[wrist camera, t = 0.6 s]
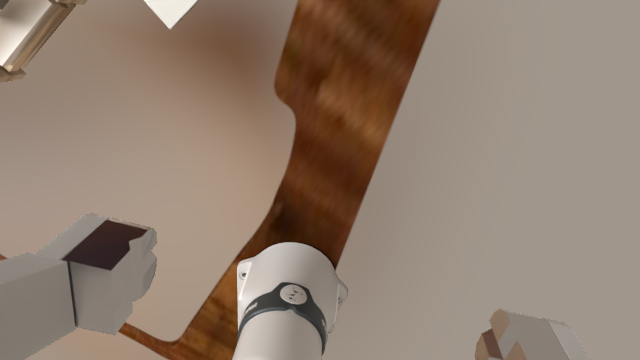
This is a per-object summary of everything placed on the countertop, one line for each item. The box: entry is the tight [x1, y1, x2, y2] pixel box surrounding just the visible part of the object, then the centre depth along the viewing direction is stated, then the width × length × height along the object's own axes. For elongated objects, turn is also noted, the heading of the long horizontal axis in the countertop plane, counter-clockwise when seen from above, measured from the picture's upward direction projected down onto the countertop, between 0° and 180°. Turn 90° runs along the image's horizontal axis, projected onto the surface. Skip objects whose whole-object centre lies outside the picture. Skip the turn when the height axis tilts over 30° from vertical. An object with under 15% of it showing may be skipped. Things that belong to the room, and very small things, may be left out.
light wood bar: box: [0, 0, 76, 72], centre depth 49 cm, size 4×12×4 cm, turn 130°
